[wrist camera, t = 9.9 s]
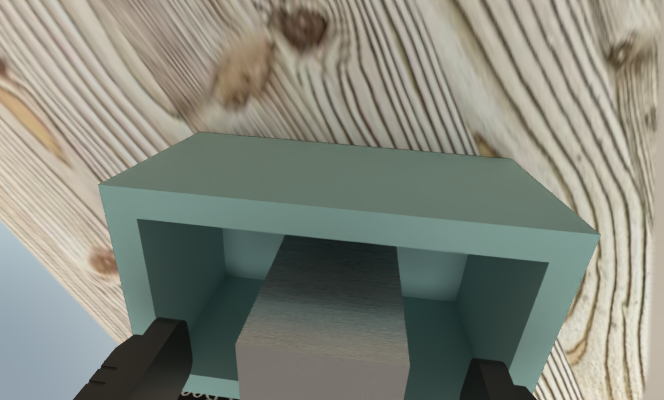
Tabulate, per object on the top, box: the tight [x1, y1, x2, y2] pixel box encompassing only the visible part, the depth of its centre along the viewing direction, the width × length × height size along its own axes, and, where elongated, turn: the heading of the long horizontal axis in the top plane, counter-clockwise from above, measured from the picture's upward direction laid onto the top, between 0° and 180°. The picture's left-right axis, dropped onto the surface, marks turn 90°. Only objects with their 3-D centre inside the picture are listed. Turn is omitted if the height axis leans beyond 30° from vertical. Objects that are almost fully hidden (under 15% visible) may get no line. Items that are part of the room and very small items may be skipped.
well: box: [98, 132, 601, 400], centre depth 15 cm, size 8×14×7 cm, turn 87°
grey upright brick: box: [235, 234, 410, 400], centre depth 13 cm, size 4×4×9 cm
